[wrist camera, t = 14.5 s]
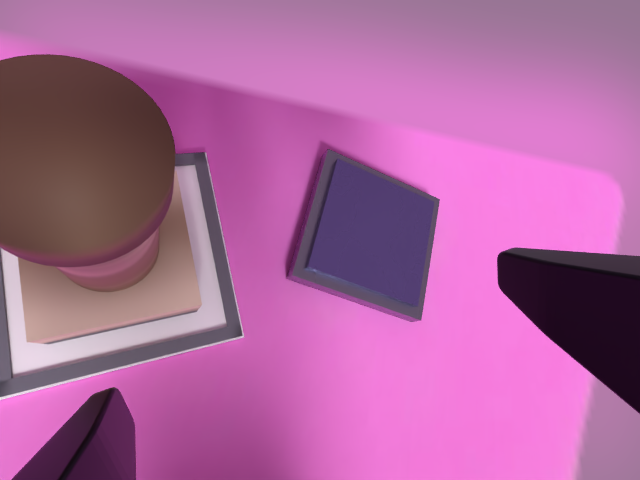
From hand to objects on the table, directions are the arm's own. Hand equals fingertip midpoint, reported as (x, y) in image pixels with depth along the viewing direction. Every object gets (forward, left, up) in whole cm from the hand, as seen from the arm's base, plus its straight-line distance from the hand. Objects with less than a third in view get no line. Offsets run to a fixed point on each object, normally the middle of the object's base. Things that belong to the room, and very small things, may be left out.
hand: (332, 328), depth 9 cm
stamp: (-3, +6, -12) cm, 14 cm away
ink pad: (+10, +1, -12) cm, 15 cm away
